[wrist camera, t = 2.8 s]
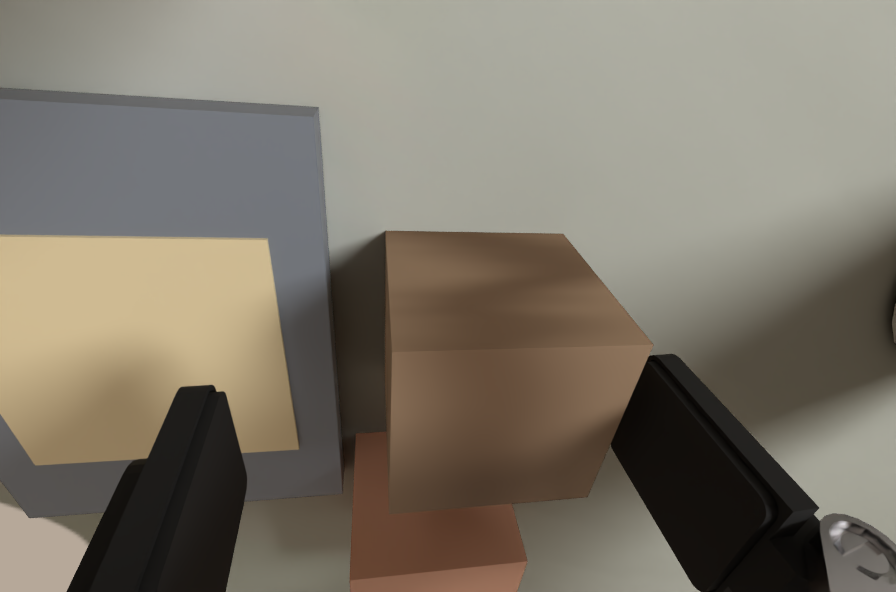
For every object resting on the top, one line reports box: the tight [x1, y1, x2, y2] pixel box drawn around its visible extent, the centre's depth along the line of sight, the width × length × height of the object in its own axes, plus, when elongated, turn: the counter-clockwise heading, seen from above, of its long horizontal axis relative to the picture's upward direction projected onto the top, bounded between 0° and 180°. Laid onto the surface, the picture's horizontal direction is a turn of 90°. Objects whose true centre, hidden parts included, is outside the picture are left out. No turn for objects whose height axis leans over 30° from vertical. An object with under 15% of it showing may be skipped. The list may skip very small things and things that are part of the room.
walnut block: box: [385, 231, 653, 514], centre depth 12 cm, size 5×5×5 cm
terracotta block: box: [350, 432, 528, 592], centre depth 16 cm, size 5×5×5 cm
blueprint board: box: [0, 88, 344, 518], centre depth 12 cm, size 10×13×1 cm
